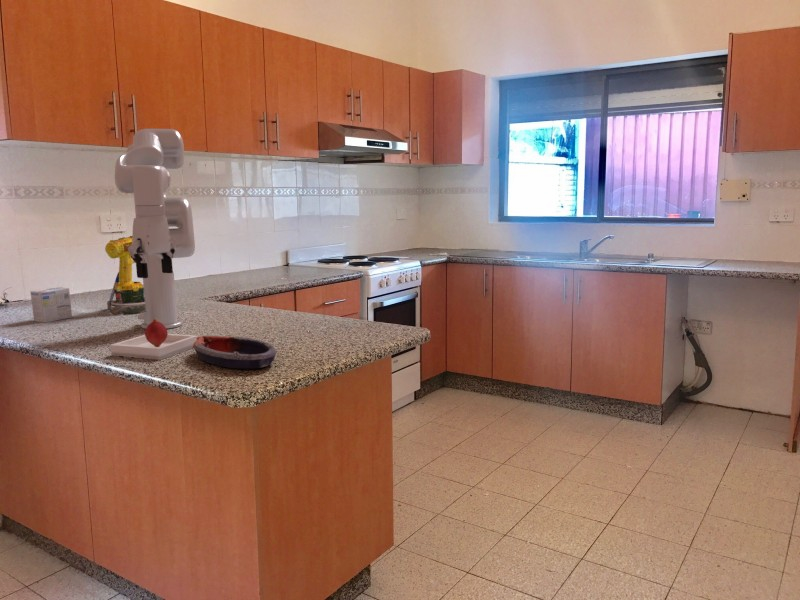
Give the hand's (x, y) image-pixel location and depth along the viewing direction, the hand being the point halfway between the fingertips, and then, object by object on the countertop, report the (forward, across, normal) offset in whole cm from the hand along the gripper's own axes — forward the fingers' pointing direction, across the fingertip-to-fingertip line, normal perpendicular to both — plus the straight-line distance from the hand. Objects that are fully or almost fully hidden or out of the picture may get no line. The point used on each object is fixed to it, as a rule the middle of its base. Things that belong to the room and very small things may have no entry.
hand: (155, 275), depth 178 cm
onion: (+20, +2, +1) cm, 20 cm away
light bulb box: (+22, -25, -69) cm, 76 cm away
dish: (+21, +5, +27) cm, 35 cm away
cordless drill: (+22, -50, -54) cm, 77 cm away
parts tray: (+21, +3, +1) cm, 21 cm away
